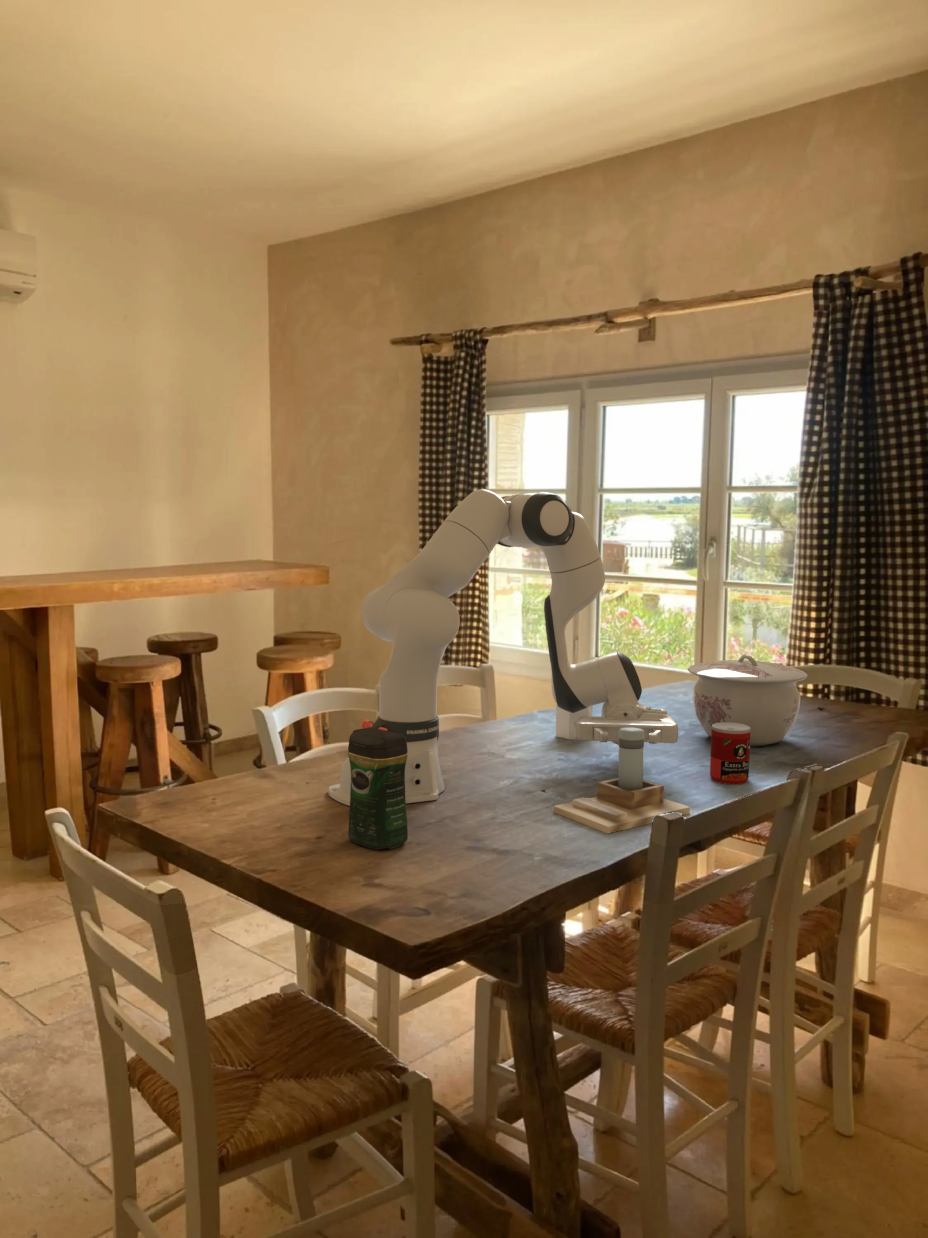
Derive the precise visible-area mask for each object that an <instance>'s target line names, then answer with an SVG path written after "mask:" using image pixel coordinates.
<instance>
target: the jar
mask: <svg viewBox="0 0 928 1238" xmlns="http://www.w3.org/2000/svg"><path fill="white" fill-rule="evenodd" d="M555 710H556V712H555V714H556V715H555V737H557V738H561V739H564V740H568V741H576V740H578V739H576V728H575V727H574V722H576V721H577V720H578V719H579V718H580V717H585V716H593V706H589V707H587V708H585V709H583V710H580V711H578V712H575V713H571V712H568V711H565V710H563V709H561V708H560V707H558V705H557V704H556V705H555ZM578 741H579V740H578Z"/></svg>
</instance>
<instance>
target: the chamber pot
mask: <svg viewBox="0 0 928 1238" xmlns="http://www.w3.org/2000/svg"><path fill="white" fill-rule="evenodd" d="M745 659H746V660H745ZM687 670H688V672H689V673H690V674H691V675H693V676H694V675H695V676H696V677H697V681H696V683H695V684H694V686H693V687H692V702H693V708H694V709H693V710H694V714H695V716H696V718H697V719H698V721H699V723H700V725H701V728H703V730H704V732H705V734H706V735H707V736H708V737H710V738H711V729H712V725H713V724H715V723H720V722H731V723H740V724H744V725H747V726H749V727H750V730H751V738H750V747H764V746H765V747H766V746H768V745H772V744H776V743H779V742H781V741H782V740H783V739H784V738H785V737H786V736H787V735H788V733H789V731H790V730H791V729H792V727H793V725H794V724H795V723H796V722H797V717H798V714H799V710H800V706H801V693H800V691H799V689H798V687H797V685H796V684H797V683H798V682H801V681H804V680H806V679H807V678H808V676H809V674H807V673H806V672H805V671H803V670H801V669H798V668H795V667H792V666H789V665H785V664H781V663H773V662H768V661H759V660H758V661H757V660H755V658H753V656H752V655H749V654H748V653H745V654H743V655H741V656H740V657H739V658H738V659H729V660H728V659H725V660H724V659H723V660H715V661H705V662H699V663H696V664H692V665H691V666H689V667H688V668H687Z"/></svg>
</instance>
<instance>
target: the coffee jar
mask: <svg viewBox="0 0 928 1238" xmlns="http://www.w3.org/2000/svg"><path fill="white" fill-rule="evenodd" d="M347 755H348V757H349V761H350V768H351V790H350V806H349V813H348V814H349V815H348V832H347V833H348V838H349V840H350V841H351V842H352V843H355V844H357V845H359V846H362V847H365V848H368V849H373V850H382V849H388V850H389V849H390V850H392V849H395V848H398V847H401V845H403V844H404V843H406V842H407V840H408V836H409V835H408V831H409V830H408V814H407V803H406V798H405V765H406V761H407V757H408V750H407V740H406V737H405V736H403V735H402V734H399V733H394V732H389V731H385V730H381V729H377V728H373V727H368V728H363V729H362V728H358V729H353V731H352V732H351V733H350V735H349V739H348V749H347Z"/></svg>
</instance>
